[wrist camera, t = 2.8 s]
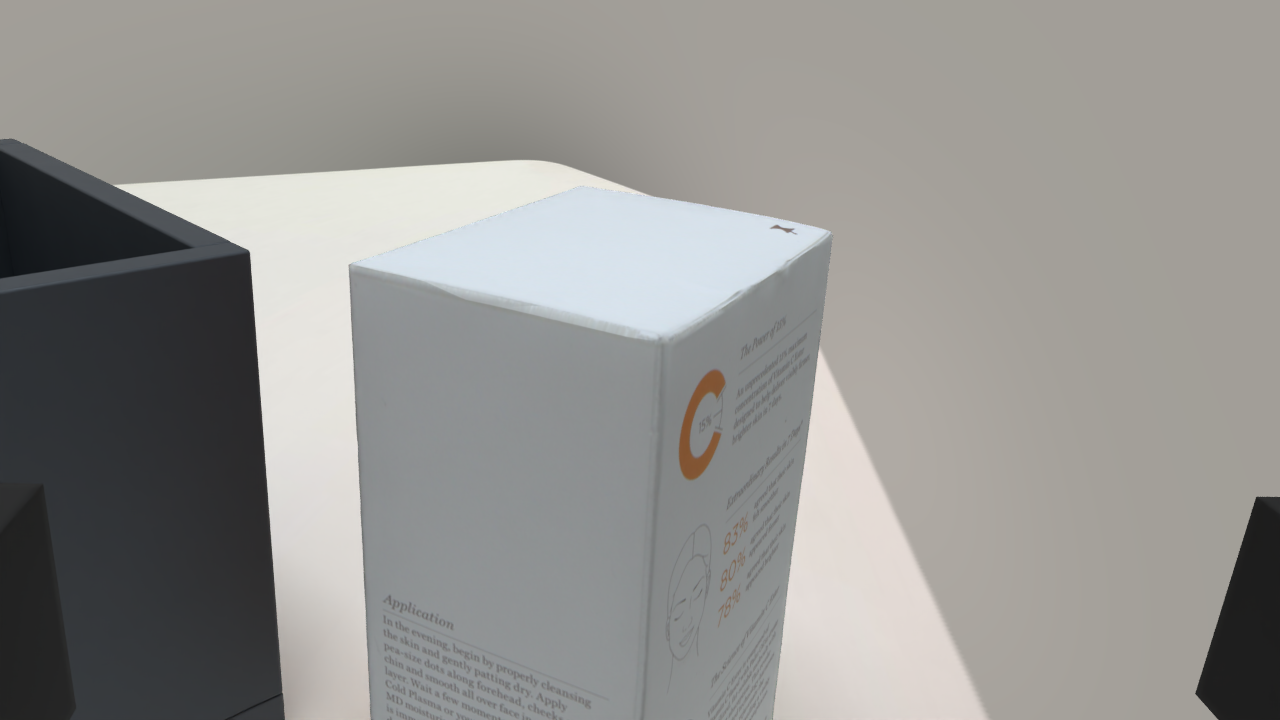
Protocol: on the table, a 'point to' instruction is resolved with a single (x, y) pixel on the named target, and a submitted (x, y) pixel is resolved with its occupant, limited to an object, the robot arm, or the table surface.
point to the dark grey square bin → (139, 443)
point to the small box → (584, 459)
